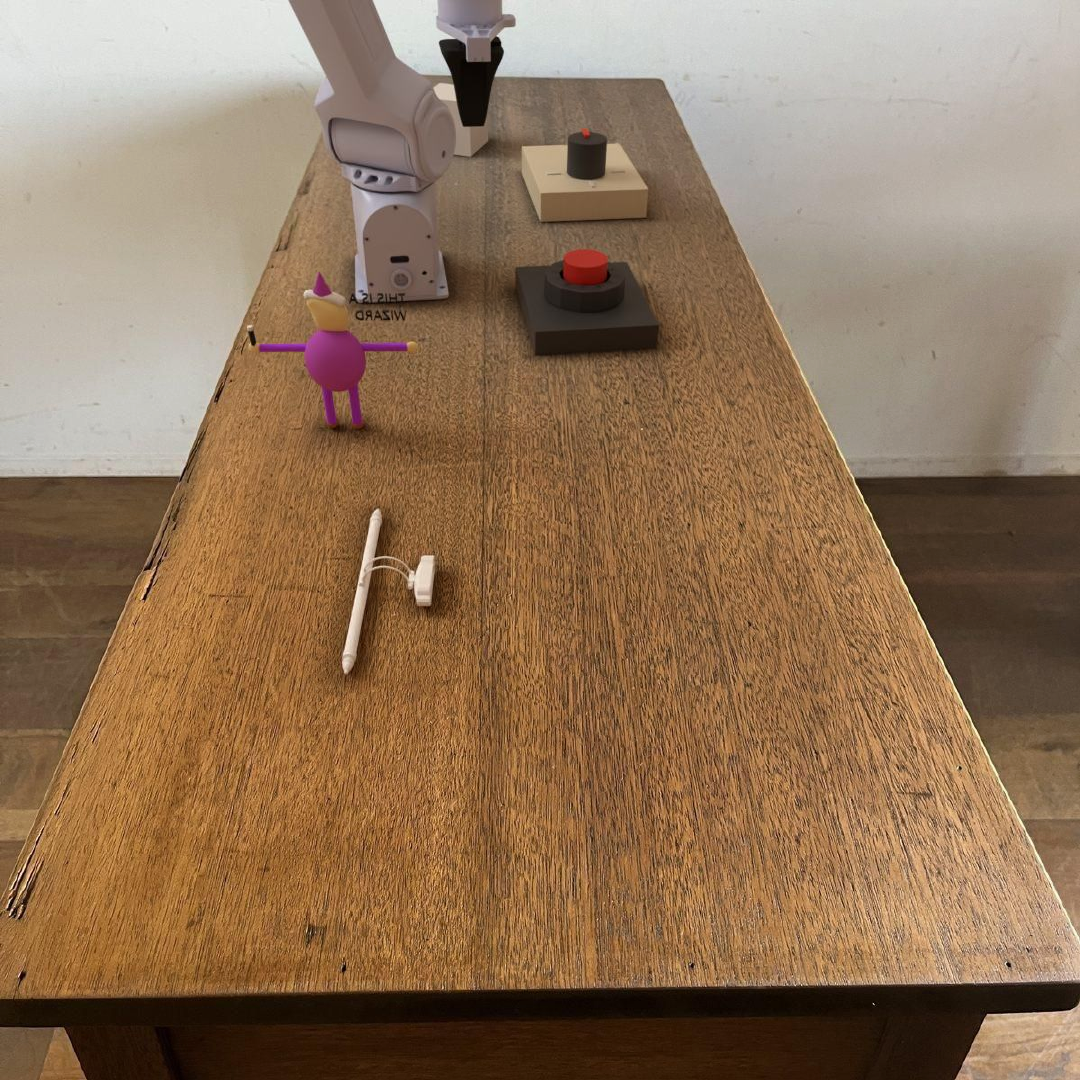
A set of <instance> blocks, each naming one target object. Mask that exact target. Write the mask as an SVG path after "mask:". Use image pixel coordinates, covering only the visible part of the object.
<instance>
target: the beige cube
mask: <svg viewBox="0 0 1080 1080" xmlns="http://www.w3.org/2000/svg"><path fill="white" fill-rule="evenodd" d="M433 88H434V91H435V93H436V95H437V97H438V98H439V99H440V100H441V101H443V102H444V103H445V104H446V105H447V106H448V108H449V110H450V112H451V115H452V117H453V120H454V123H455V129H456V145H455V151H454V155H453V156H462V157H468V158H469V157H470V158H471V157H472V156H474V155H475V154H476V153H477V152H478V151H479V150H480V149H481V148H483V146H484V145H486V144H487V143H488V142H489V110H488V111H487V117H486V121H485V125H484V126H480V127H463V125H462V122H461V119H460V115H459V111H458V106H457V101H456V95H455V90H454V85H453V83H443V82H439V83H438V84H436V85H435V86H433Z"/></svg>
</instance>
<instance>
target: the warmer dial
mask: <svg viewBox="0 0 1080 1080" xmlns="http://www.w3.org/2000/svg"><path fill="white" fill-rule="evenodd" d="M607 144H608V138H607V136H606V135H604V134H602V133H598V132H593V131H589V130H588V128H581V131H579V132H574V133H570V134H569V135H568V137H567V145H568V150H567V174H568V175H570V176H571V177H574V178H578V179H597V178H600V177H602V176H604V175H605V169H606V152H607Z"/></svg>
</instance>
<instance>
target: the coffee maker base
mask: <svg viewBox="0 0 1080 1080" xmlns="http://www.w3.org/2000/svg"><path fill="white" fill-rule="evenodd" d="M563 266H564V259H562V260H559V261H556V262H552V263H551V264H550V265H529V266H527V265H526V266H515V270H514V271H515V275H514V277H515V284H514V285H515V286H514V287H515V293H516V296H517V299H518V300H517V301H518V303H519V306H520V310H521V314H522V317H523V320H524V324H525V328H526V330H527V333H528V338H529V340H530V344H531V347H532V351H533V353H534V356H546V355H547V356H548V355H549V356H550V355H565V354H581V353H598V352H600V353H601V352H615V351H633V350H650V349H653V350H654V349H657V348H658V340H659V331H660V324H659V321H658V320H657V318H656V316H655V314H654V312H653V310H652V308H651V307H650V305H649V302H648V301H647V298H646V296H645V295H644V293H643V291H642V288H641V287H640V285H639V282H638V281H637V279H636V278H635V275H634V273H633V272H632V269H631V268H630V266H629V264H628V262H627V261H617V262H615V261H614V262H610V261H608V265H607V279H606V281H605V282H604V283H601V284H598V285H587V286H582V285H577V284H572V283H569V282H567V281H565V280H564V278H563Z"/></svg>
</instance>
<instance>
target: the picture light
mask: <svg viewBox="0 0 1080 1080" xmlns="http://www.w3.org/2000/svg"><path fill="white" fill-rule="evenodd" d="M382 524H383V516H382V511H381V509H380V508H376V509H375V510H374V511H373V513H372V514H371V516H370V518H369V526H368V532H367V538H366V543H365V547H364V552H363V557H362V562H361V566H360V573H359V576H358V580H357V581H358V582H357V587H356V592H355V596H354V602H353V607H352V611H351V616H350V621H349V625H348V626H349V627H348V632H347V636H346V641H345V645H344V650H343V652H342V656H341V660H342V661H341V664H342V670H343V673H344V675H348V674H349V672H351V671H352V669H353V667H354V666H355V662H356V661H357V655H358V654H357V651H358V646H359V640H360V635H361V631H362V625H363V619H364V613H365V608H366V603H367V599H368V593H369V588H370V582H371V577H372V572H373V571H375V570H378V569H389V570H393V571H396V572H397V573H399V574H401V575H402V576H403V577H404V578H405V581H406V582H407V587H406V588H407V590H414V597H415V600H416V606H417V607H430V606H431V605H432V597H433V587H434V579H435V572H436V555H422V556H421V557H420V562H419V564H418V566H417V568H416V571H415V570H411V568H410V567H409V566H408V565H407V563H405V562H404V561H402V560H401V559H399V558H397V557H393V556H390V555H389V556H387V555H384V556H383V555H382V556H377V557H375V555H376V552H377V551H376V550H377V546H378V540H379V535H380V530H381V529H380V528H381V526H382ZM382 559H383V560H384V559H388V560H392V561H393V560H394V561H396V562H398V563H400V564H401V565H403V566H404V567H405V568H406V570H407V571H408V574H409V575H408V576H407V575H406V574H405V573H404V572H403V571H401V570H400V569H398V568H396V567H393V566H390V565H389V566H388V565H378V566H374V562H375V561H377V560H382Z"/></svg>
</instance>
